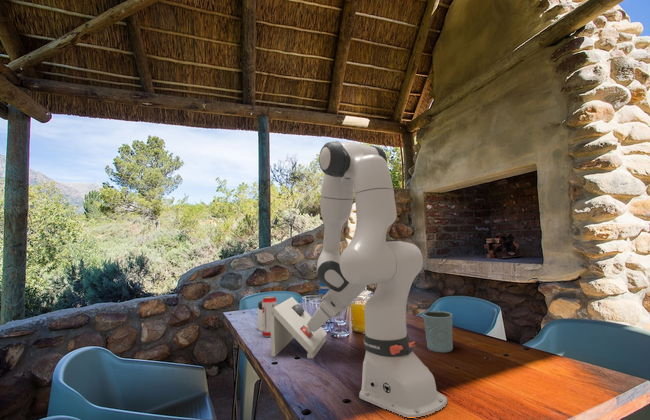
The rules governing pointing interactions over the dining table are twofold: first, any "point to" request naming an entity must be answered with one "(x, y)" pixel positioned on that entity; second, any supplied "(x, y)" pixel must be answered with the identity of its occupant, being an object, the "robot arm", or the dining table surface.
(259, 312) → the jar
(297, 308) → the charcoal button
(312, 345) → the console
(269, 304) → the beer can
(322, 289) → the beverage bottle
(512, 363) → the dining table surface
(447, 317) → the grey green cup
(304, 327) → the red button
